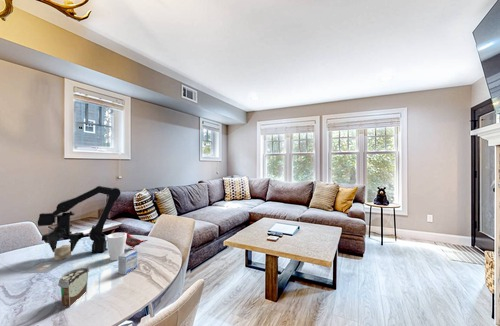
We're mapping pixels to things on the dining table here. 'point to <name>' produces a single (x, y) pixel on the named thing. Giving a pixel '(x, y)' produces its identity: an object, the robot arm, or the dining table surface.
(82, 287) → the food container
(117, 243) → the foam cup
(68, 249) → the maple block
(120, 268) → the medicine box
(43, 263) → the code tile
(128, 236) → the decorative bird figurine
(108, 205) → the robot arm
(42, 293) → the dining table surface
